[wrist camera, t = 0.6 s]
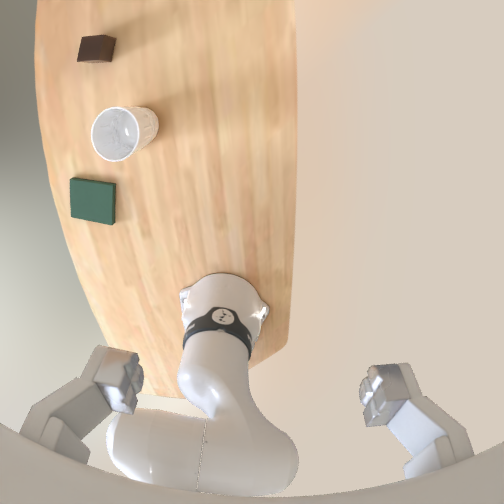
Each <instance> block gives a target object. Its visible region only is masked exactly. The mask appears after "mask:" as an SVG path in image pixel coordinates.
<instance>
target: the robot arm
mask: <svg viewBox="0 0 504 504" xmlns="http://www.w3.org/2000/svg"><path fill="white" fill-rule="evenodd" d="M179 297H180V303H181V309H182V321H183V324H184V328H185V334H184V338H183V339H184V340H183V350H184V351H183V354H182V358H181V362H180V366H179V370H178V374H177V382H178V386H179V389H180V390H181V392H182V394H183V395H184V396H185V397H186V399H187V400H188V401H189V402H191V403H192V404H193V405H195V406H196V407H198V408H199V409H201V410H202V411H203V412H204V413H206V414H207V416H208V417H209V418H210V419H207V422H206V419H203V418H197V417H191V416H186V415H181V414H177V413H172V412H167V411H163V410H157V409H143V408H136V405H137V402H138V400H137V397H136V394H137V393H139V392H140V391H141V389H142V386H143V380H144V373H143V369H142V367H141V366H140V365H139V364H138V362H139V357H138V354H137V353H134V352H129V351H124V350H120V349H115V348H111V347H106V346H101V345H98V346H97V347H96V348H95V349H94V351H93V353H92V355H91V357H90V359H89V361H88V363H87V365H86V367H85V369H84V371H83V373H82V375H81V377H80V378H75V379H74V380H72V381H70V382H69V383H67V384H66V385H64V386H62V387H61V388H59V389H58V390H56V391H55V392H53V393H52V394H50V395H48V396H47V397H45V398H44V399H42V400H41V401H39V402H38V403H36V404H34V405H33V406H32V407H31V409H30V411H29V413H28V415H27V417H26V420H25V421H24V424H23V426H22V428H21V430H20V433H17V432H15V431H13V430H12V429H10V428H8V427H6V426H5V425H3V424H1V423H0V504H504V442H502V443H500V444H498V445H496V446H494V447H492V448H490V449H488V450H486V451H483V452H481V453H479V454H477V455H474V452H473V449H472V446H471V443H470V440H469V438H468V435H467V432H466V429H465V428H464V427H463V426H462V425H460V424H459V423H458V422H457V421H456V420H455V419H453V418H452V417H451V416H450V415H448V414H447V413H446V412H445V411H444V410H442V409H441V408H440V407H439V406H437V405H436V404H435V403H434V402H433V401H431V400H430V399H429V398H428V397H427V396H422V393H421V390H420V388H419V385H418V383H417V380H416V378H415V375H414V373H413V370H412V368H411V366H410V364H408V363H399V364H386V365H374V366H371V367H369V369H368V371H367V374H368V376H367V377H366V378H364V379H363V380H362V382H361V384H360V390H359V395H360V396H359V397H360V401H361V403H362V404H363V405H364V406H365V407H366V408H365V410H364V412H363V415H364V419H365V423H366V427H371V426H381V425H387V427H388V428H389V430H391V432H392V433H393V434H394V435H395V436H396V438H397V439H398V440H399V441H400V442H401V443H402V444H403V445H404V447H405V448H406V449H407V450H408V451H409V452H410V453H411V455H412V456H413V458H412V459H411V460H410V461H408V462H407V463H406V464H405V465H404V467H403V469H404V473H405V478H406V480H402V481H398V482H394V483H390V484H386V485H382V486H377V487H372V488H366V489H361V490H355V491H348V492H341V493H333V494H324V495H313V496H300V497H253V496H262V495H269V494H275V493H280V492H282V491H283V490H285V489H286V488H287V487H288V486H289V485H290V483H291V482H292V481H293V479H294V477H295V475H296V473H297V470H298V464H299V457H298V452H297V449H296V446H295V444H294V443H293V441H292V440H291V439H290V437H289V436H288V435H287V434H286V433H285V432H283V431H281V430H280V429H278V428H277V427H275V426H274V425H273V424H272V423H270V422H269V421H268V420H267V419H266V418H265V417H264V416H263V414H262V413H261V412H260V410H259V409H258V408H257V406H256V404H255V402H254V401H253V398H252V396H251V393H250V389H249V380H248V361H249V359H250V357H251V353H252V350H253V348H254V345H255V341H257V340H258V335H259V334H260V329H261V325H262V323H263V321H264V320H265V318H266V317H267V315H268V314H269V306H268V305H267V304H266V303H265V302H263V301H262V300H261V299H260V297H259V295H258V293H257V291H256V290H255V288H254V287H253V286H252V285H251V284H250V283H249V282H247V281H246V280H244V279H243V278H241V277H238V276H236V275H232V274H226V273H217V274H211V275H208V276H205V277H203V278H202V279H200V280H199V281H198V282H196V283H195V284H194V285H193V286H191V287H187V288H184V289H182V290H181V291H180V295H179ZM185 299H186V300H185ZM112 411H116V412H119V413H118V414H117V415H116V416H115V417H114V418H113V420H112V421H111V423H110V425H109V427H108V430H107V435H106V444H107V450H108V453H109V456H110V458H111V460H112V462H113V463H114V465H115V466H116V467H117V468H119V469H120V470H121V471H122V472H123V473H124V474H125V475H127V476H128V477H129V478H126V477H123V476H118V475H116V474H113V473H109V472H106V471H103V470H100V469H97V468H94V467H92V466H89V465H87V462H88V459H89V455H90V450H89V448H88V447H87V446H86V445H85V444H84V443H83V442H82V441H81V440H82V439H83V438H84V437H85V436H86V435H87V434H88V433H89V432H90V431H92V430H93V429H94V428H95V427H96V426H97V425H98V424H99V423H101V422H102V421H103V420H104V419H105V418H106V417H107V416H108V415H109V414H111V413H112ZM205 422H206V429H205ZM204 429H205V436H204ZM203 437H204V443H203ZM202 444H203V451H202ZM201 451H202V458H201ZM200 458H201V465H200ZM199 465H200V473H199ZM198 473H199V481H198V489H196V488H197V480H198ZM201 492H205V493H201ZM207 493H212V494H207ZM216 494H220V495H216ZM227 495H229V496H227Z"/></svg>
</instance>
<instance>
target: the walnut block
mask: <svg viewBox="0 0 504 504" xmlns="http://www.w3.org/2000/svg"><path fill="white" fill-rule="evenodd" d="M115 41H116V38H113V37H110V36H106V35H96V36H86V37H82V39H81V44H80V48H79V53H78V58H77V62H87V63H97V62H111V60H112V55H113V50H114V46H115Z"/></svg>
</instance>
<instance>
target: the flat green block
mask: <svg viewBox="0 0 504 504" xmlns="http://www.w3.org/2000/svg"><path fill="white" fill-rule="evenodd" d="M115 187H116V184H114V183H107V182H101V181H94V180H87V179H80V178H71V179H70V205H71V217H73V218H78V219H83V220H88V221H93V222H98V223H103V224H108V225H113V224H114V223H115Z"/></svg>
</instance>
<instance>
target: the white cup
mask: <svg viewBox="0 0 504 504" xmlns="http://www.w3.org/2000/svg"><path fill="white" fill-rule="evenodd" d="M158 130H159V122H158V118H157V116H156V115H155V113H154V112H153V111H152V110H150V109H148V108H145V107H136V106H122V107H110V108H108V109H106V110H104V111H103V112H101V113H100V114H99V115H98V116H97V118H96V119H95V121H94V123H93V126H92V131H91V139H92V144H93V146H94V149H95V150H96V152H97V153H98V154H99V155H100V156H101V157H102V158H104V159H106V160H108V161H121V160H124V159H126V158H128V157H129V156H131V155H132V154H134V153H135V152H137V151H139V150H140V149H141V148H143V147H145V146H146V145H147V144H149V143H150V142H151V141H152V140H153V139H154V138H155V137H156V135H157V132H158Z"/></svg>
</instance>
